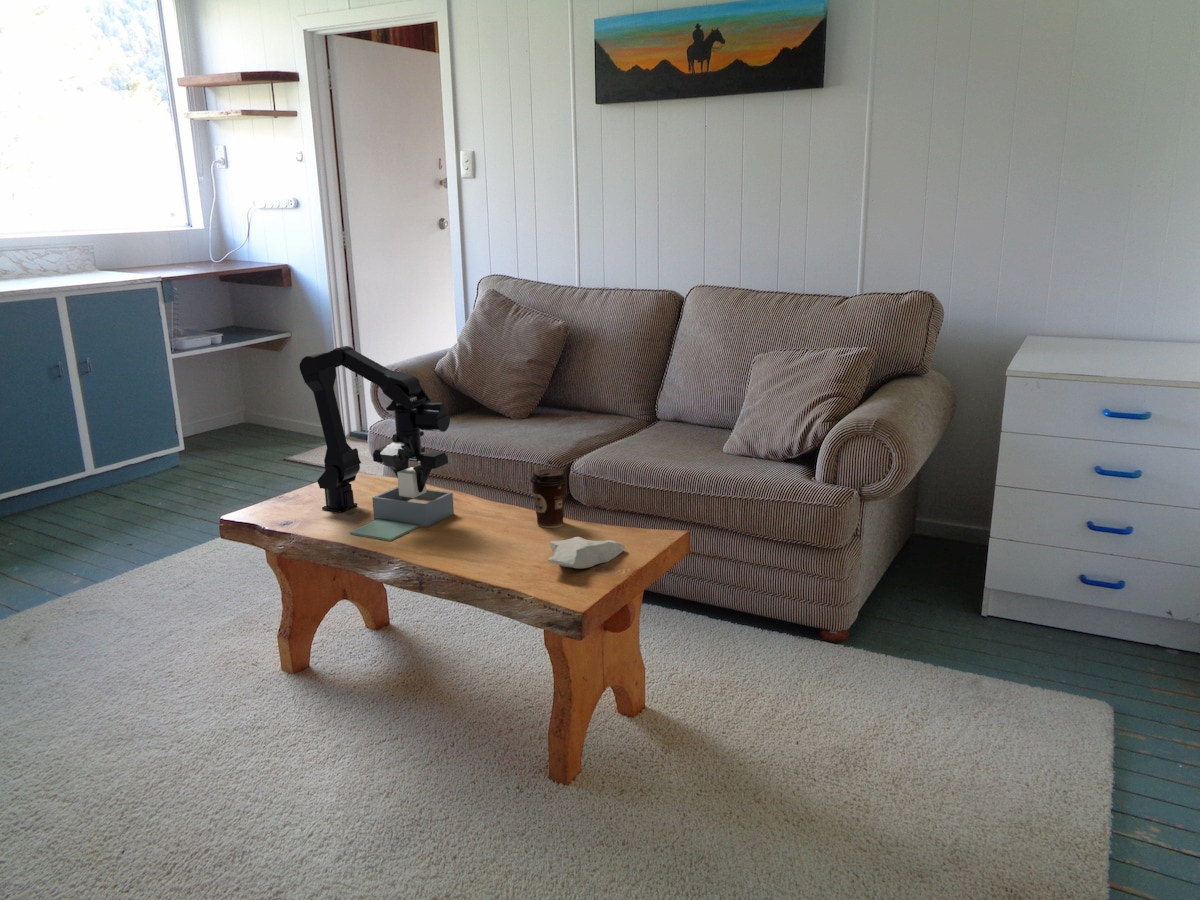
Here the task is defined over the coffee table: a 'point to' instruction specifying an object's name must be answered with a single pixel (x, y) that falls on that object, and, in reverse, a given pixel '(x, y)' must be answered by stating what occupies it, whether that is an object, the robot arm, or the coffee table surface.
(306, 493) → the coffee table surface
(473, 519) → the coffee table surface
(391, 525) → the board
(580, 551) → the rock
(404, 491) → the block
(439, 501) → the slot box
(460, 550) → the coffee table surface
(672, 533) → the coffee table surface
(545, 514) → the coffee cup
